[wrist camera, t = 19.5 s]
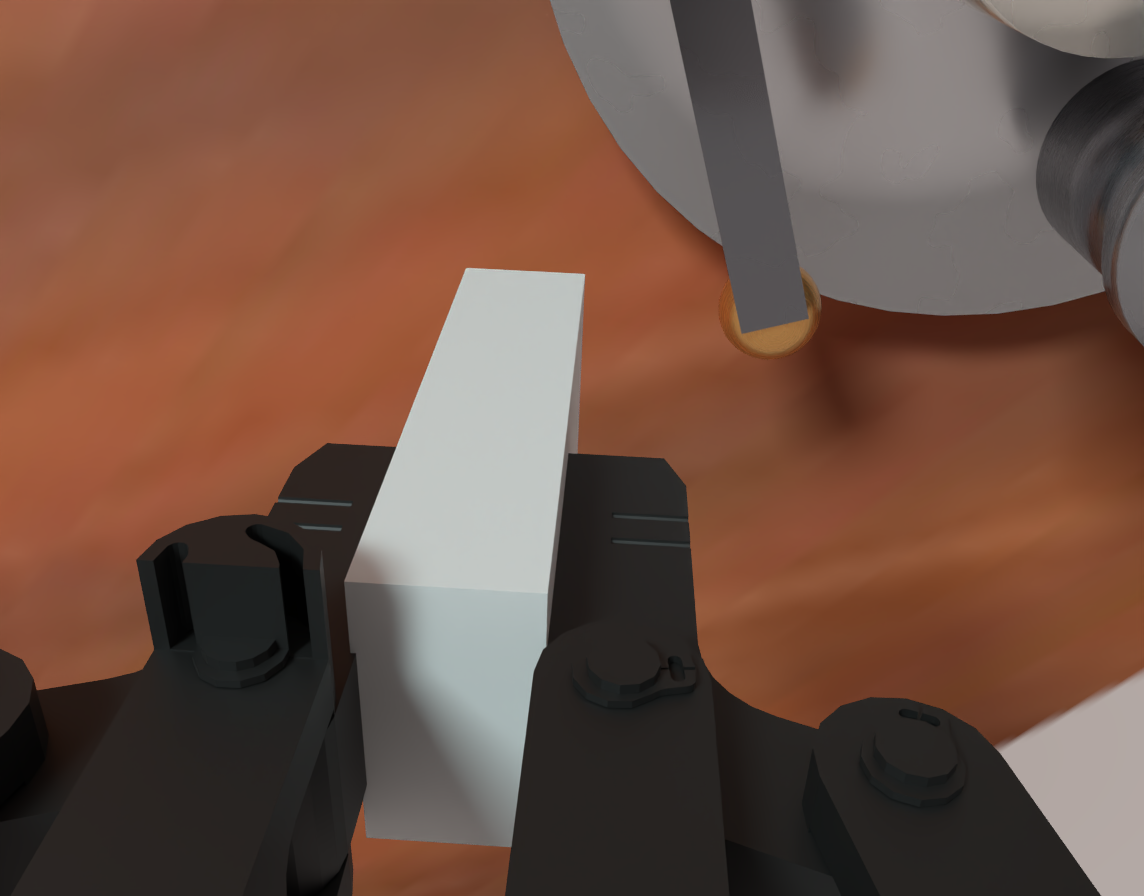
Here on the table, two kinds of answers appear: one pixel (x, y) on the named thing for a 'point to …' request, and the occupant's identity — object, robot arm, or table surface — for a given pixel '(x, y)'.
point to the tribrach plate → (881, 134)
